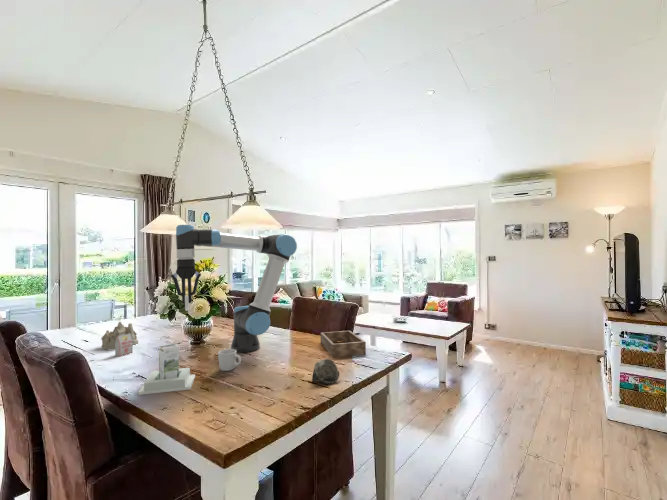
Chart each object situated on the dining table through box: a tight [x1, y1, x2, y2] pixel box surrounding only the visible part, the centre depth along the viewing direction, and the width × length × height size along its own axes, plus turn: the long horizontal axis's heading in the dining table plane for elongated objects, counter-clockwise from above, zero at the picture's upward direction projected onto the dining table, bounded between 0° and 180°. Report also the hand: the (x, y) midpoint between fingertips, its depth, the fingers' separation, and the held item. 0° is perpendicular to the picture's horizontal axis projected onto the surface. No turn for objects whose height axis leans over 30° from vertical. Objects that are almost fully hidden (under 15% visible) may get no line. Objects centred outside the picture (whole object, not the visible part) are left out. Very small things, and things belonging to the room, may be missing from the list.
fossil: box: [311, 358, 340, 385], centre depth 141 cm, size 11×9×10 cm
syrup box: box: [158, 343, 180, 379], centre depth 137 cm, size 6×6×14 cm
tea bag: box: [114, 334, 134, 357], centre depth 181 cm, size 4×7×10 cm, turn 152°
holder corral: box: [320, 330, 367, 358], centre depth 187 cm, size 17×26×6 cm, turn 15°
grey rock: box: [100, 321, 139, 350], centre depth 198 cm, size 16×16×15 cm
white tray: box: [137, 367, 196, 396], centre depth 137 cm, size 18×14×4 cm
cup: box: [217, 348, 242, 372], centre depth 155 cm, size 11×8×8 cm
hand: (187, 310), depth 159 cm, fingers closed
